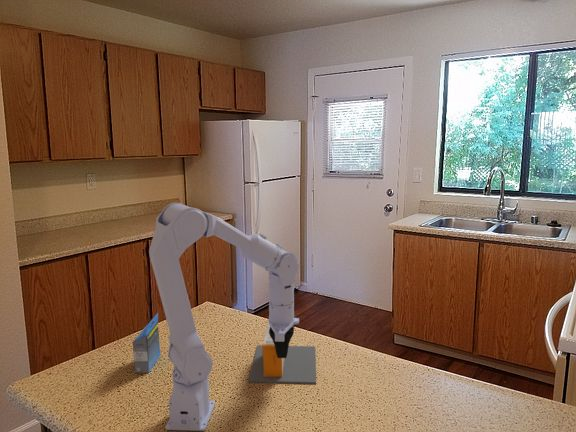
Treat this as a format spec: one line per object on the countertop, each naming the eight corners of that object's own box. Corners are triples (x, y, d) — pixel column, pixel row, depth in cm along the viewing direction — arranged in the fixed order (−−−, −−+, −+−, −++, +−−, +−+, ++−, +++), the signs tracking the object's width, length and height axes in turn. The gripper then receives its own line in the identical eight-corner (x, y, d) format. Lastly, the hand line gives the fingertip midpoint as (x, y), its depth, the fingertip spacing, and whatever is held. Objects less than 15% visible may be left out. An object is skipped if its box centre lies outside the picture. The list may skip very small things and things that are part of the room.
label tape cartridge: (146, 355, 115) (143, 311, 113) (161, 355, 115) (158, 312, 113) (134, 373, 106) (130, 326, 104) (149, 373, 106) (146, 326, 104)
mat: (316, 383, 101) (316, 382, 101) (248, 382, 102) (248, 380, 102) (315, 347, 119) (315, 346, 119) (257, 346, 120) (257, 345, 120)
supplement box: (262, 377, 103) (268, 351, 116) (282, 377, 103) (286, 351, 116) (261, 345, 102) (267, 322, 115) (281, 344, 102) (285, 322, 115)
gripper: (298, 314, 91) (298, 373, 94) (299, 290, 106) (299, 342, 108) (264, 313, 92) (265, 372, 94) (271, 290, 106) (271, 342, 108)
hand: (282, 356), depth 101 cm, fingers closed
